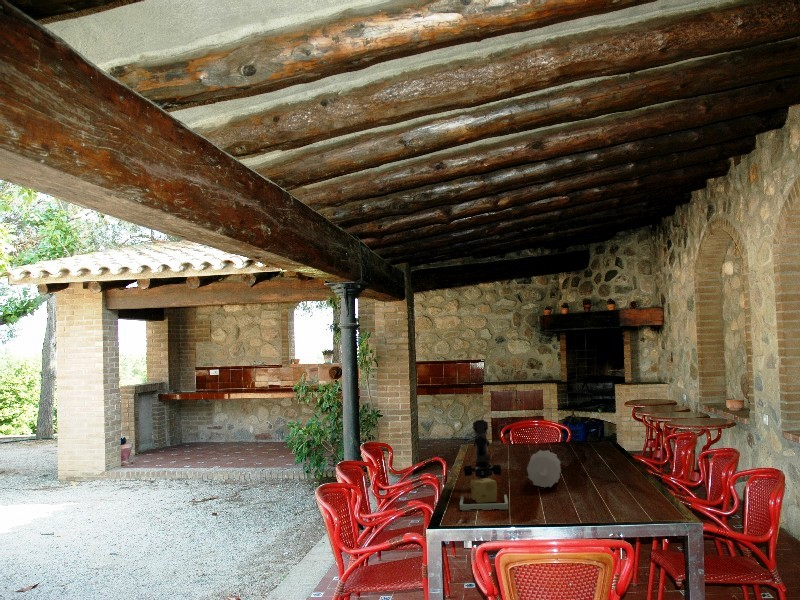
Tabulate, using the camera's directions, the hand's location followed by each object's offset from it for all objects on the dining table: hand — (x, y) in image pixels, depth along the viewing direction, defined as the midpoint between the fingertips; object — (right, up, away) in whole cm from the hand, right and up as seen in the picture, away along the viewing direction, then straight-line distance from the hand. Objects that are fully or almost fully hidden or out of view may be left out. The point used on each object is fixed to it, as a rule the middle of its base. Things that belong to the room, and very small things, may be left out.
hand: (483, 484), depth 354 cm
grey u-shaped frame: (-1, -6, -16) cm, 17 cm away
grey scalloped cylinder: (+36, -7, +23) cm, 43 cm away
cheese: (0, -7, -6) cm, 9 cm away
